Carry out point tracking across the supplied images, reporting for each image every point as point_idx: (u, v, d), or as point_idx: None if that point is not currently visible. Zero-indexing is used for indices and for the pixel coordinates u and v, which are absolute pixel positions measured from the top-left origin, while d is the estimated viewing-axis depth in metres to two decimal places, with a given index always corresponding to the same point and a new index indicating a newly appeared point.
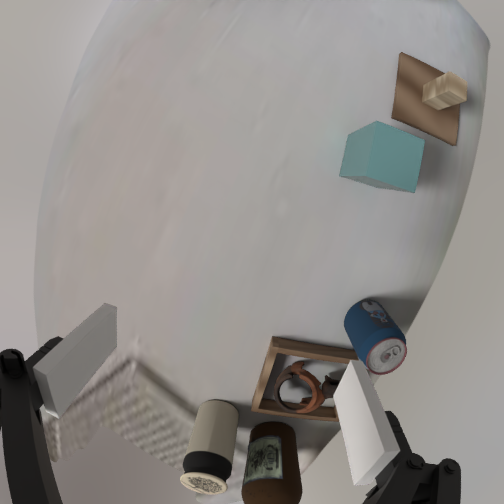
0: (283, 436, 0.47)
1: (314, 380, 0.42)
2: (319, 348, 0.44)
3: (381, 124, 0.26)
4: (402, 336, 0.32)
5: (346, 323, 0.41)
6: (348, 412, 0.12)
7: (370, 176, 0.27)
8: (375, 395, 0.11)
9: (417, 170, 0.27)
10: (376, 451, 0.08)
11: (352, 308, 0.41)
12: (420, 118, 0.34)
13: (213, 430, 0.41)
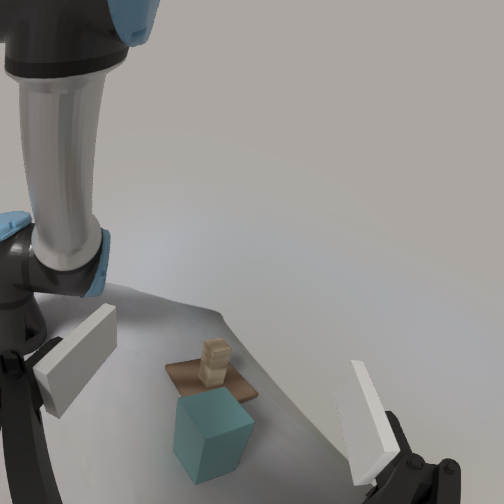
0: None
1: None
2: None
3: (183, 398, 0.28)
4: None
5: None
6: (348, 412, 0.12)
7: (209, 437, 0.24)
8: (375, 395, 0.11)
9: (240, 407, 0.29)
10: (376, 451, 0.08)
11: None
12: None
13: None
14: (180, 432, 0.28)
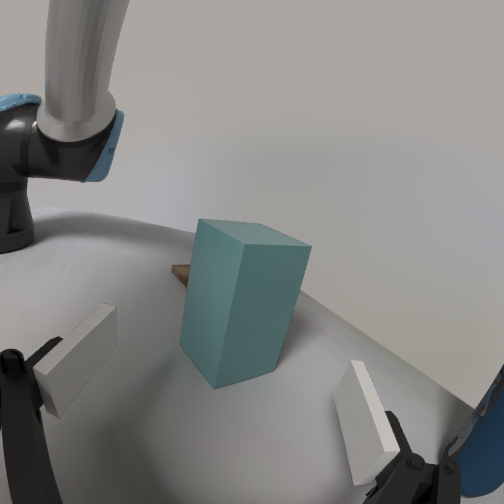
0: None
1: None
2: None
3: (207, 219, 0.22)
4: None
5: (481, 483, 0.09)
6: (348, 412, 0.12)
7: (250, 244, 0.18)
8: (375, 395, 0.11)
9: (286, 235, 0.23)
10: (376, 451, 0.08)
11: None
12: None
13: None
14: (196, 286, 0.22)
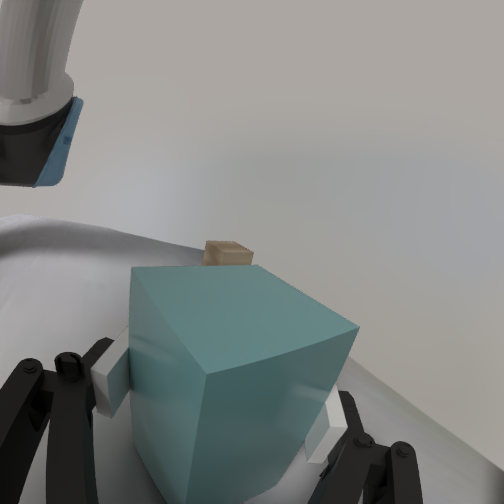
0: None
1: None
2: None
3: (148, 269, 0.11)
4: None
5: None
6: None
7: (225, 366, 0.06)
8: None
9: (307, 298, 0.11)
10: (324, 426, 0.10)
11: None
12: None
13: None
14: (138, 387, 0.11)
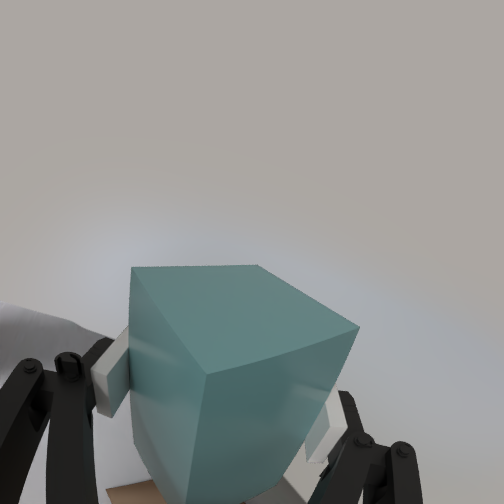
0: None
1: None
2: None
3: (148, 269, 0.11)
4: None
5: None
6: None
7: (225, 367, 0.06)
8: None
9: (307, 298, 0.11)
10: (324, 426, 0.10)
11: None
12: None
13: None
14: (138, 387, 0.11)
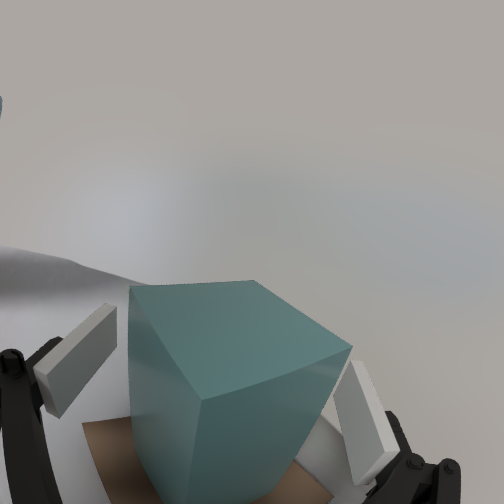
0: None
1: None
2: None
3: (145, 288, 0.11)
4: None
5: None
6: (348, 412, 0.12)
7: (219, 392, 0.06)
8: (375, 395, 0.11)
9: (301, 316, 0.12)
10: (376, 451, 0.08)
11: None
12: None
13: None
14: (138, 400, 0.11)
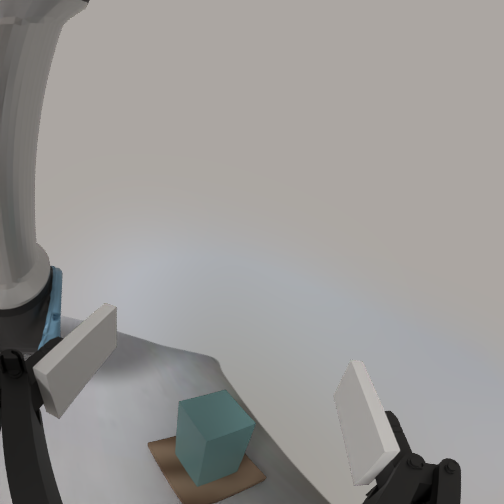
0: None
1: None
2: None
3: (184, 401, 0.28)
4: None
5: None
6: (348, 412, 0.12)
7: (210, 439, 0.24)
8: (375, 395, 0.11)
9: (240, 409, 0.29)
10: (376, 451, 0.08)
11: None
12: (213, 490, 0.27)
13: None
14: (182, 435, 0.28)
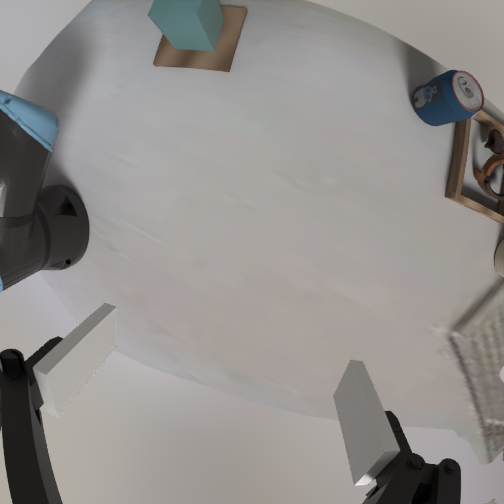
0: None
1: (491, 160, 0.32)
2: (456, 151, 0.35)
3: (150, 11, 0.23)
4: (449, 73, 0.24)
5: (435, 124, 0.34)
6: (348, 412, 0.12)
7: (196, 10, 0.23)
8: (375, 395, 0.11)
9: None
10: (376, 451, 0.08)
11: (421, 117, 0.34)
12: (225, 43, 0.34)
13: None
14: (170, 31, 0.28)
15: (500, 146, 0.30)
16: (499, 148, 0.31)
